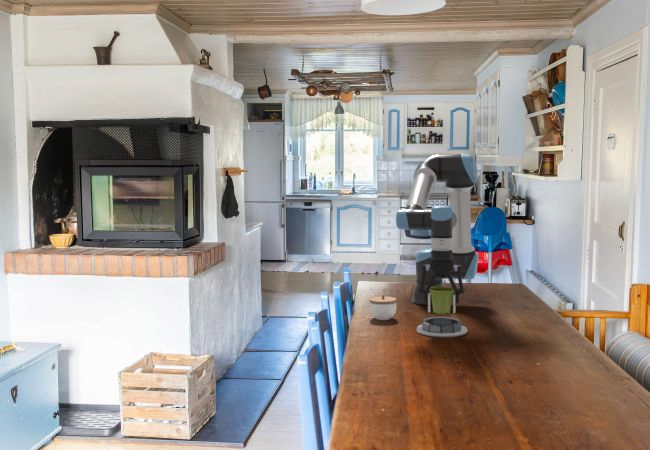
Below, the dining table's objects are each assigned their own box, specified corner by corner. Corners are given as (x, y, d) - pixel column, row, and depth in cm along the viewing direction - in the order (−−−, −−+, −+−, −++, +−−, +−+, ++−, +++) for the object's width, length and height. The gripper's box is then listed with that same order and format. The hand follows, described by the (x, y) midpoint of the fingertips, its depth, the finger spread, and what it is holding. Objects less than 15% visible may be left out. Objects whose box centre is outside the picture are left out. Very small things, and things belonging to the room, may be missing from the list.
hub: (442, 323, 256) (442, 313, 255) (477, 332, 241) (477, 322, 240) (406, 329, 246) (406, 320, 246) (440, 340, 231) (440, 330, 231)
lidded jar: (387, 322, 258) (387, 298, 257) (364, 319, 264) (364, 295, 263) (402, 317, 266) (401, 294, 265) (379, 314, 273) (378, 291, 272)
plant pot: (455, 310, 246) (455, 286, 246) (454, 315, 237) (454, 291, 236) (429, 309, 248) (429, 286, 247) (427, 315, 239) (427, 290, 238)
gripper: (411, 250, 239) (411, 313, 241) (471, 250, 235) (471, 315, 237) (412, 247, 246) (413, 309, 248) (471, 248, 242) (471, 310, 244)
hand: (441, 311), depth 243 cm, fingers closed on plant pot, 8 cm apart
